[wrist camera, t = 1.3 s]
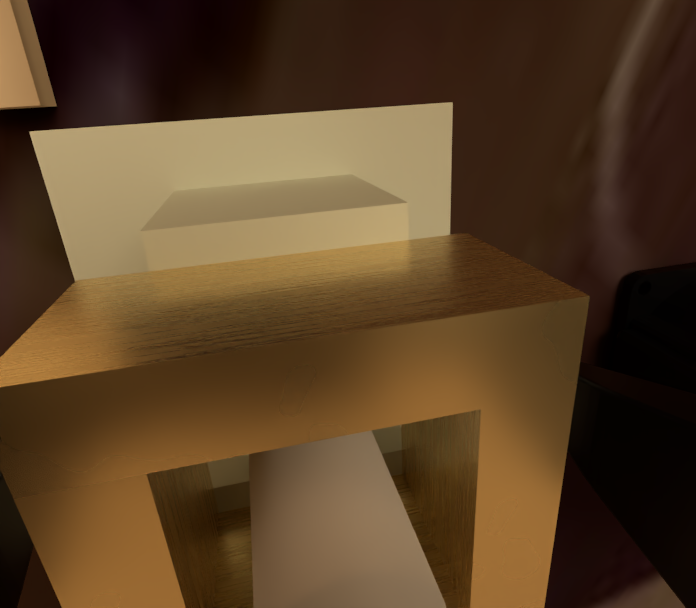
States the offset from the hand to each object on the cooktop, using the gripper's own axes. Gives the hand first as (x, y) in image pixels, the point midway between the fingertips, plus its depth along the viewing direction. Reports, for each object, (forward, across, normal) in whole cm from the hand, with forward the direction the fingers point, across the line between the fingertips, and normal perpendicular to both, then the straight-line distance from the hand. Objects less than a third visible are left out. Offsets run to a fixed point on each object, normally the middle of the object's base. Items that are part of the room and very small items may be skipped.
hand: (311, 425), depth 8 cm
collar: (0, 0, 0) cm, 0 cm away
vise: (+6, 0, 0) cm, 6 cm away
